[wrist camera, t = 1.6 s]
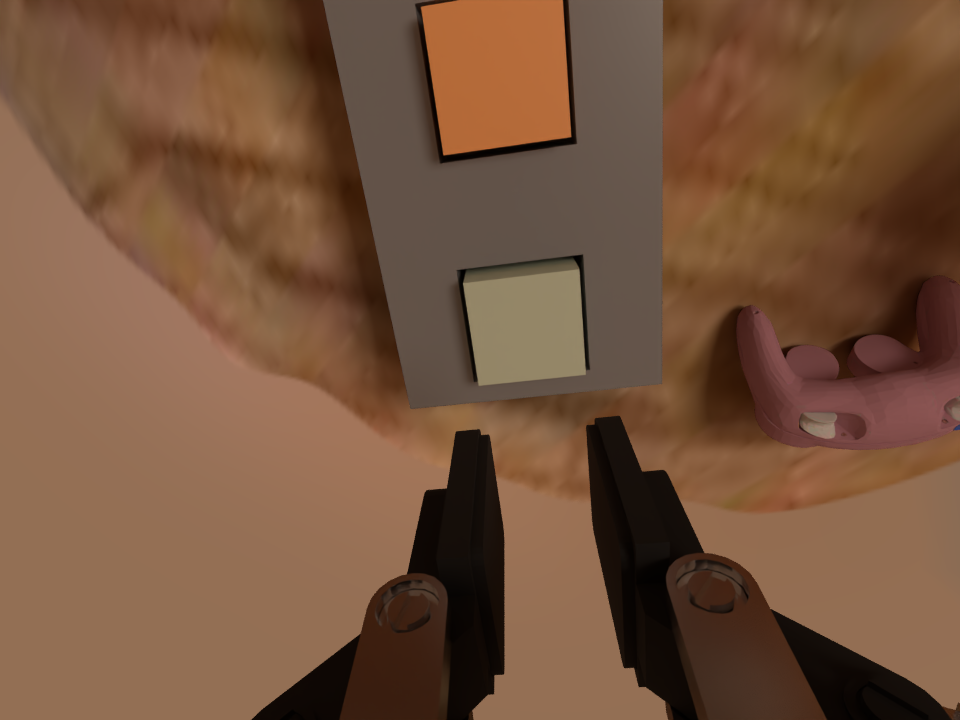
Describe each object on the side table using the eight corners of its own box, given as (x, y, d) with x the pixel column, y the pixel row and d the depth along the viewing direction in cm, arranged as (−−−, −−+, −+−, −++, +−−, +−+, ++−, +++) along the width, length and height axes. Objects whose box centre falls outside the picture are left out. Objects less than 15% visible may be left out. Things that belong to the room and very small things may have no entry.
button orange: (432, 23, 19) (420, 6, 17) (553, 2, 19) (561, -18, 16) (451, 151, 21) (443, 155, 18) (562, 134, 21) (571, 136, 18)
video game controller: (716, 358, 29) (767, 476, 24) (731, 298, 25) (794, 423, 21) (912, 329, 28) (1003, 447, 23) (956, 262, 24) (1073, 385, 20)
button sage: (467, 264, 23) (463, 283, 20) (570, 251, 23) (579, 269, 20) (481, 356, 25) (478, 385, 22) (576, 346, 24) (585, 374, 22)
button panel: (293, -303, 18) (231, -429, 14) (625, -380, 17) (663, -540, 13) (424, 366, 28) (410, 409, 24) (637, 343, 27) (662, 384, 23)
